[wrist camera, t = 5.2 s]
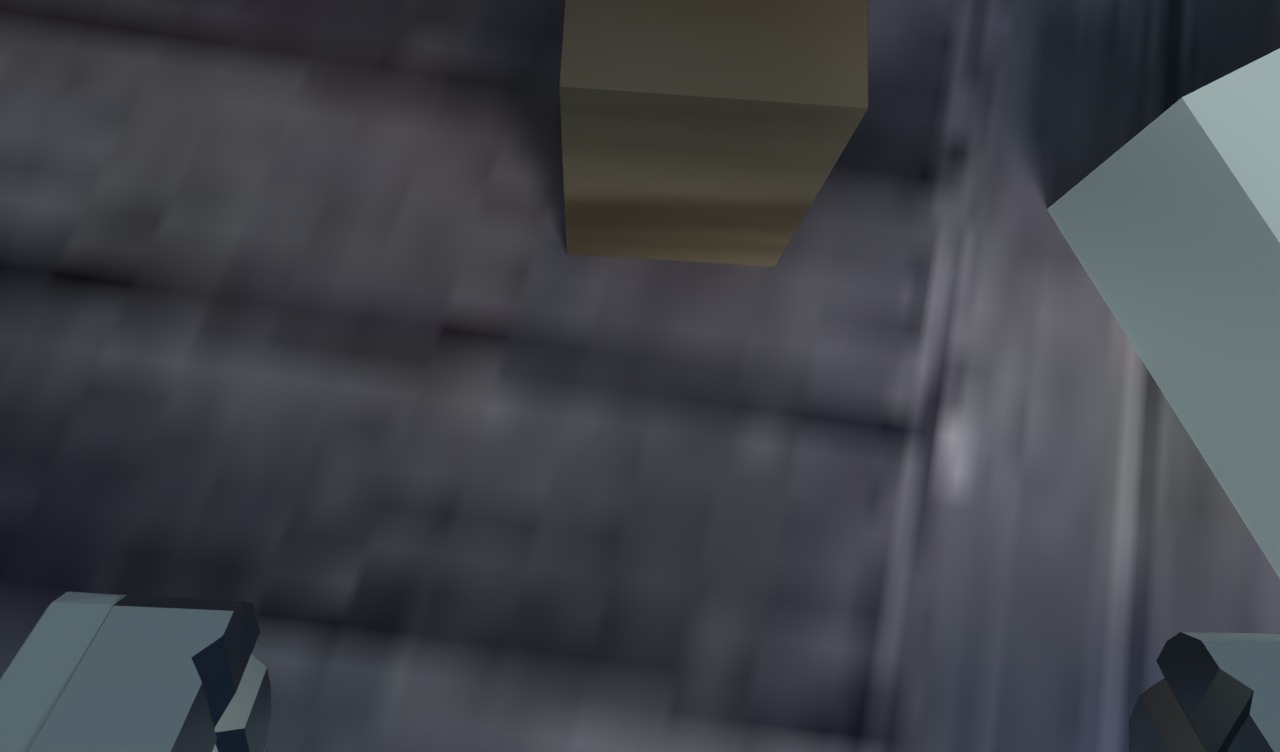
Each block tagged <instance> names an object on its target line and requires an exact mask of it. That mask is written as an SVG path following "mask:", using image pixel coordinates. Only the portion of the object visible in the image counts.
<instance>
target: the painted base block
mask: <svg viewBox="0 0 1280 752" xmlns="http://www.w3.org/2000/svg"><path fill="white" fill-rule="evenodd" d="M1047 210H1048V212H1049V214H1050V215H1051V217H1052V218H1053V220H1054V221H1055V223H1056V225H1057V226H1058V228H1059V229H1060V231H1061V233H1062V234H1063V236H1064V237H1065V239H1066V240H1067V242H1068V244H1069V245H1070V247H1071V248H1072V250H1073V252H1074V253H1075V255H1076V256H1077V258H1078V259H1079V261H1080V263H1081V264H1082V266H1083V267H1084V269H1085V271H1086V272H1087V274H1088V275H1089V277H1090V279H1091V280H1092V282H1093V283H1094V285H1095V286H1096V288H1097V290H1098V291H1099V293H1100V294H1101V296H1102V298H1103V299H1104V301H1105V302H1106V304H1107V305H1108V307H1109V309H1110V310H1111V312H1112V313H1113V315H1114V317H1115V318H1116V320H1117V321H1118V323H1119V325H1120V326H1121V328H1122V329H1123V331H1124V332H1125V334H1126V336H1127V337H1128V339H1129V340H1130V342H1131V344H1132V345H1133V347H1134V348H1135V350H1136V351H1137V353H1138V355H1139V356H1140V358H1141V359H1142V361H1143V363H1144V364H1145V366H1146V367H1147V369H1148V370H1149V372H1150V374H1151V375H1152V377H1153V378H1154V380H1155V382H1156V383H1157V385H1158V386H1159V388H1160V390H1161V391H1162V393H1163V394H1164V396H1165V397H1166V399H1167V401H1168V402H1169V404H1170V405H1171V407H1172V409H1173V410H1174V412H1175V413H1176V415H1177V416H1178V418H1179V420H1180V421H1181V423H1182V424H1183V426H1184V428H1185V429H1186V431H1187V432H1188V434H1189V436H1190V437H1191V439H1192V440H1193V442H1194V443H1195V445H1196V447H1197V448H1198V450H1199V451H1200V453H1201V455H1202V456H1203V458H1204V459H1205V461H1206V462H1207V464H1208V466H1209V467H1210V469H1211V470H1212V472H1213V474H1214V475H1215V477H1216V478H1217V480H1218V481H1219V483H1220V485H1221V486H1222V488H1223V489H1224V491H1225V493H1226V494H1227V496H1228V497H1229V499H1230V501H1231V502H1232V504H1233V505H1234V507H1235V508H1236V510H1237V512H1238V513H1239V515H1240V516H1241V518H1242V520H1243V521H1244V523H1245V524H1246V526H1247V527H1248V529H1249V531H1250V532H1251V534H1252V535H1253V537H1254V539H1255V540H1256V542H1257V543H1258V545H1259V546H1260V548H1261V550H1262V551H1263V553H1264V554H1265V556H1266V558H1267V559H1268V561H1269V562H1270V564H1271V566H1272V567H1273V569H1274V570H1275V572H1276V573H1277V575H1278V577H1279V578H1280V48H1279V49H1277V50H1275V51H1274V52H1272V53H1270V54H1268V55H1266V56H1264V57H1262V58H1260V59H1258V60H1256V61H1254V62H1252V63H1250V64H1248V65H1246V66H1244V67H1242V68H1240V69H1238V70H1236V71H1234V72H1232V73H1230V74H1228V75H1226V76H1224V77H1222V78H1220V79H1218V80H1216V81H1214V82H1212V83H1210V84H1208V85H1206V86H1204V87H1202V88H1200V89H1198V90H1196V91H1194V92H1192V93H1190V94H1188V95H1186V96H1184V97H1182V98H1181V99H1179V100H1178V101H1177V102H1176V103H1175V104H1173V105H1172V106H1171V107H1170V108H1169V109H1167V110H1166V111H1165V112H1164V113H1162V114H1161V115H1160V116H1159V117H1158V118H1156V119H1155V120H1154V121H1153V122H1152V123H1150V124H1149V125H1148V126H1147V127H1146V128H1144V129H1143V130H1142V131H1141V132H1140V133H1138V134H1137V135H1136V136H1135V137H1133V138H1132V139H1131V140H1130V141H1129V142H1127V143H1126V144H1125V145H1124V146H1123V147H1121V148H1120V149H1119V150H1118V151H1117V152H1115V153H1114V154H1113V155H1112V156H1111V157H1109V158H1108V159H1107V160H1106V161H1105V162H1103V163H1102V164H1101V165H1100V166H1098V167H1097V168H1096V169H1095V170H1094V171H1092V172H1091V173H1090V174H1089V175H1088V176H1086V177H1085V178H1084V179H1083V180H1082V181H1080V182H1079V183H1078V184H1077V185H1076V186H1074V187H1073V188H1072V189H1071V190H1069V191H1068V192H1067V193H1066V194H1065V195H1063V196H1062V197H1061V198H1060V199H1059V200H1057V201H1056V202H1055V203H1054V204H1053V205H1051V206H1050V207H1049V208H1048V209H1047Z"/></svg>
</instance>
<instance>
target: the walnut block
mask: <svg viewBox="0 0 1280 752" xmlns="http://www.w3.org/2000/svg"><path fill="white" fill-rule="evenodd" d="M559 87H560V111H561V134H562V157H563V181H564V204H565V227H566V251H567V254H577V255H593V256H609V257H625V258H641V259H657V260H672V261H688V262H704V263H720V264H736V265H752V266H768V267H775V266H776V264H777V262H778V260H779V259H780V257H781V255H782V254H783V252H784V250H785V249H786V247H787V245H788V243H789V242H790V240H791V238H792V237H793V235H794V233H795V232H796V230H797V228H798V226H799V225H800V223H801V221H802V220H803V218H804V216H805V215H806V213H807V211H808V210H809V208H810V206H811V204H812V203H813V201H814V199H815V198H816V196H817V194H818V193H819V191H820V189H821V187H822V186H823V184H824V182H825V181H826V179H827V177H828V176H829V174H830V172H831V170H832V169H833V167H834V165H835V164H836V162H837V160H838V159H839V157H840V155H841V153H842V152H843V150H844V148H845V147H846V145H847V143H848V142H849V140H850V138H851V137H852V135H853V133H854V131H855V130H856V128H857V126H858V125H859V123H860V121H861V120H862V118H863V116H864V114H865V113H866V111H867V109H868V0H565V14H564V28H563V43H562V57H561V72H560V86H559Z"/></svg>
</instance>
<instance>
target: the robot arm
mask: <svg viewBox="0 0 1280 752" xmlns="http://www.w3.org/2000/svg"><path fill="white" fill-rule="evenodd" d="M259 633H260V630H259V626H258V622H257V618H256V614H255V609H254V605H253V604H251V603H248V602H245V601H237V600H220V599H203V598H186V597H169V596H152V595H135V594H127V595H118V594H100V593H83V592H66V593H65V594H63V595H62V596H60V597H59V598H58V599H56V600H55V601H53V602H52V603H51V604H50V605H49V606H48V607H47V609H46V610H45V612H44V613H43V615H42V616H41V618H40V619H39V621H38V622H37V624H36V625H35V627H34V628H33V630H32V631H31V633H30V634H29V636H28V637H27V639H26V640H25V642H24V643H23V645H22V646H21V648H20V649H19V651H18V652H17V654H16V655H15V657H14V658H13V660H12V661H11V663H10V664H9V666H8V667H7V669H6V670H5V672H4V673H3V675H2V676H1V678H0V752H263V751H264V748H265V744H266V738H267V732H268V726H269V720H270V714H271V686H270V681H269V675H268V670H267V667H266V666H265V665H264V664H263V663H262V662H260V661H259V660H258V659H257V658H256V657H255V656H253V655H252V654H251V653H252V651H253V648H254V645H255V643H256V640H257V638H258V635H259ZM1157 663H1158V665H1159V668H1160V670H1161V672H1162V674H1163V676H1164V679H1162V680H1161V681H1159V682H1157V683H1156V684H1154V685H1153V686H1151V687H1150V688H1148V689H1147V690H1145V691H1144V692H1142V693H1141V694H1140V695H1139V697H1138V699H1137V701H1136V704H1135V706H1134V708H1133V711H1132V713H1131V715H1130V718H1129V730H1128V750H1129V752H1280V634H1252V633H1209V632H1180V633H1178V634H1177V635H1175V636H1174V637H1172V638H1171V639H1169V640H1168V641H1167V642H1166V644H1165V645H1164V647H1163V649H1162V651H1161V653H1160V655H1159V657H1158V659H1157Z"/></svg>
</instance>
